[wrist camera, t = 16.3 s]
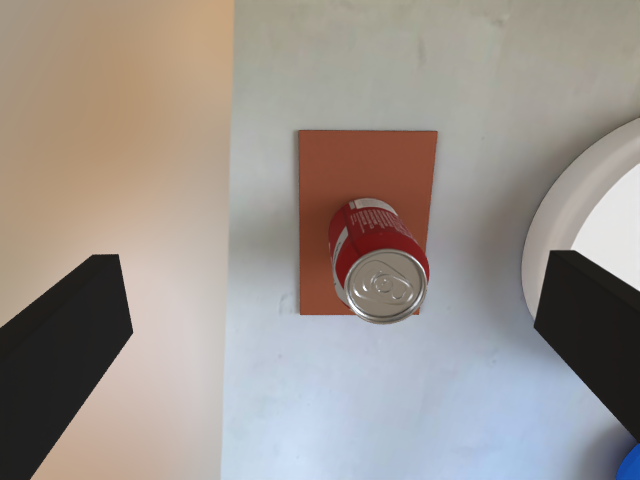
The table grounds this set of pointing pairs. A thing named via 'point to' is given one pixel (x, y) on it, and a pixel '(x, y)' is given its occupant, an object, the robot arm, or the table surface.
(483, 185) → the table surface
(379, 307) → the soda can
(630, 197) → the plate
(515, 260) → the table surface
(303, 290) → the mat
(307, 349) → the table surface
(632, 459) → the vase
